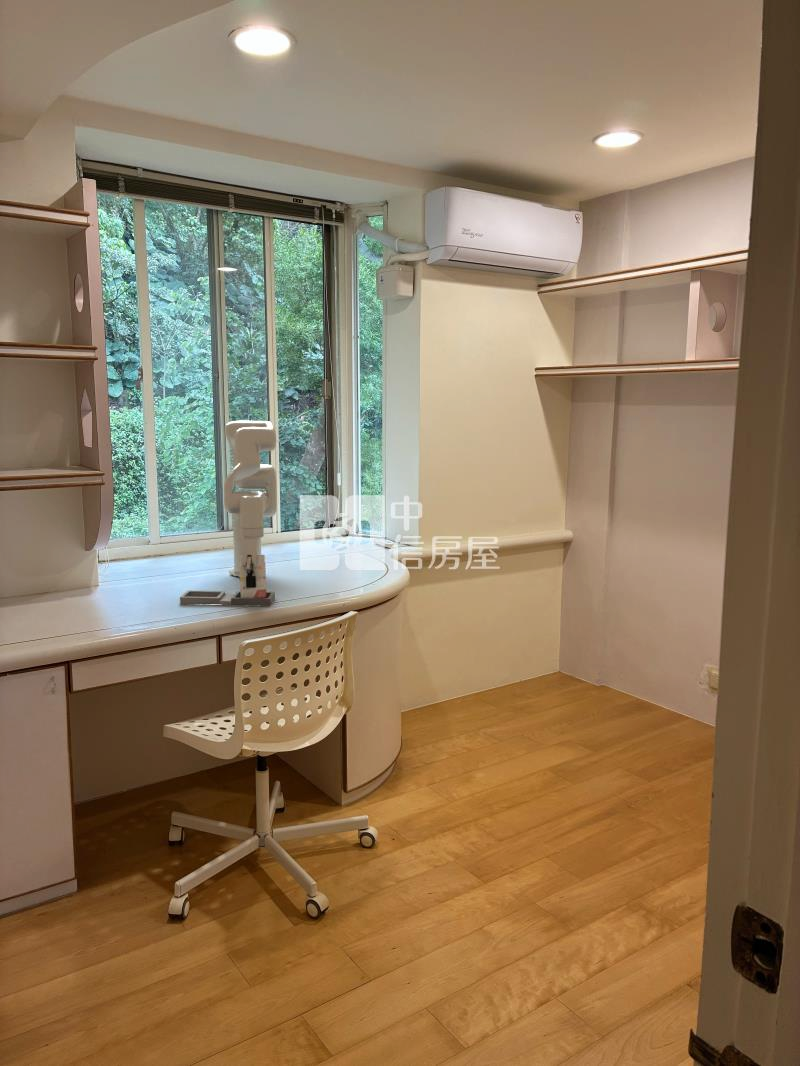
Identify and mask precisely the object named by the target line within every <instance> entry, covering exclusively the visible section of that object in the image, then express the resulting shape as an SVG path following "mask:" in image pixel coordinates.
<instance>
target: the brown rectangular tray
mask: <svg viewBox="0 0 800 1066" xmlns="http://www.w3.org/2000/svg"><path fill="white" fill-rule="evenodd" d="M225 594H226V591H224V590H186V591H185V592H184V593H183V594H182V595H181V596H179V605H180V604H219V600H220V599H221V598H222V597H223V596H224V595H225Z"/></svg>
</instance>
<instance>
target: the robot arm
mask: <svg viewBox="0 0 800 1066" xmlns="http://www.w3.org/2000/svg"><path fill="white" fill-rule="evenodd" d="M224 429H225V436H226V440H227V442H228V444H229V446H230V448H231V451H232V470H230V472H229V473H228V474H227V476H226V478H225V480H224V483H223V503H224V509H225V511H226V512H227V513H228V514H231V517H232V520H231V521H232V529H233V531H232V536H233V540H232V542H233V569H230V571H229V575H231V576H232V575H233V576H232V577H236V576H238V578H240V556H241V555H242V567H245V566H246V587H247V588H255V587H256V576H255V567H257V566H258V558H259V555H262V538H263V537H264V536H265V535H264V532H265V531H264V518H271V517H274V516H275V515H276V513H277V510H278V509H277V508H278V507H277V506H278V502H277V501H278V500H277V497H278V495H277V489H278V488H277V472H276V469H275V467H274V466H273V465H271V464H266V463H265V464H262V463H261V453H260V452H272V451H275V449H276V448H277V447H276V446H277V434H276V429H275V427H274V425H273V423H272V422H271V421H267V420H235V421H233V420H232V421H229V422H228V423H226V425H225V427H224ZM233 486H234V487H235V488H236V489H238V490H243V491H233ZM244 490H247V491H244ZM251 490H254V491H251ZM257 490H263V491H257ZM246 562H247V565H246ZM251 565H253V566H254V567H251ZM252 569H253V570H252Z"/></svg>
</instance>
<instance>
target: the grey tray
mask: <svg viewBox="0 0 800 1066" xmlns="http://www.w3.org/2000/svg"><path fill="white" fill-rule="evenodd" d="M274 599H275V600H276V592H275V591H266V597H265V598H241V591H236V592H235V593H233V594H232V593H225V595H224V596H223V597H222V598H221V599H220V600H219V604H222V605H221V606H227V605H260V606H259V607H271V606H272V605H273V603H274V602H273V601H275V600H274ZM272 602H273V603H272ZM271 604H272V605H271ZM270 605H271V606H270Z"/></svg>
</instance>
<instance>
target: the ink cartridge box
mask: <svg viewBox="0 0 800 1066" xmlns="http://www.w3.org/2000/svg"><path fill="white" fill-rule="evenodd" d="M265 558H266V557H265V554H261V555H259V558H258V566H257V567H255V576H256V587H255V588H247V587H246V566H245V567H242V555H241V556H240V577H239V584H240V587H239V588H240V589H239V590H240V591H239V592H241V598H265V597H266V592H267V575H266V571H267V570H266V561H265V560H266V559H265ZM246 565H247V562H246ZM251 567H254V566H253V565H251ZM252 570H253V569H252Z"/></svg>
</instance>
